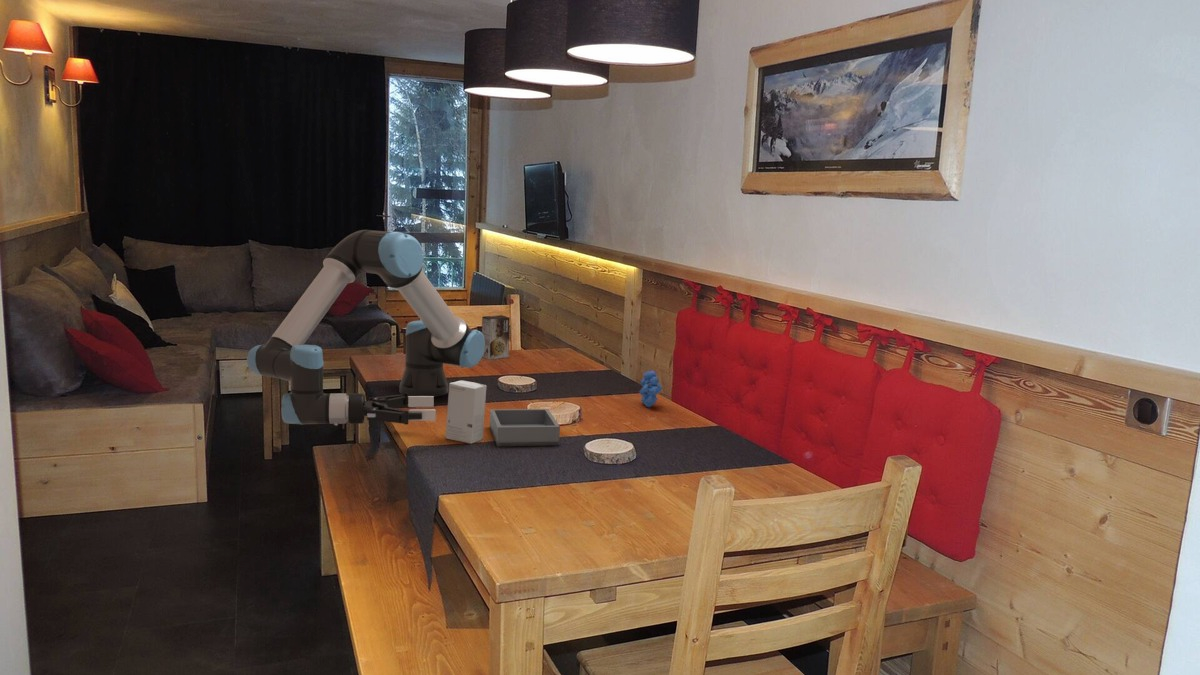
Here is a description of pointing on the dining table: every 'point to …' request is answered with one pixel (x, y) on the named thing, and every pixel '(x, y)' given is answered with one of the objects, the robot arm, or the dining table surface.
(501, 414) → the tote
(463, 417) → the skincare box
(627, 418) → the dining table surface
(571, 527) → the dining table surface
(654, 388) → the grapes
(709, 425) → the dining table surface
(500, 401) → the dining table surface
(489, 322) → the coffee box
